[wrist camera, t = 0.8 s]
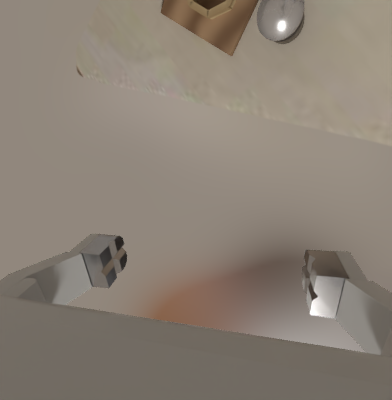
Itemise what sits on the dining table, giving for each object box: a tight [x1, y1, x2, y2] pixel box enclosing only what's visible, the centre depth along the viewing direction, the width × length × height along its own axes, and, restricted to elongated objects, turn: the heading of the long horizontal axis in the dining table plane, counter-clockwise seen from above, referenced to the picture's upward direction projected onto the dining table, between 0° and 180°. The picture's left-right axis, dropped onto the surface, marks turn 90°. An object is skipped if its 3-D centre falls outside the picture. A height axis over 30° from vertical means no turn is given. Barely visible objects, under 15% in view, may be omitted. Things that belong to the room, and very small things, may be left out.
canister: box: [257, 0, 304, 44], centre depth 34 cm, size 6×6×11 cm
